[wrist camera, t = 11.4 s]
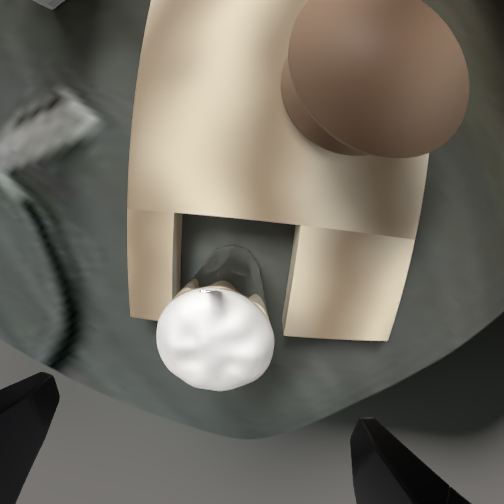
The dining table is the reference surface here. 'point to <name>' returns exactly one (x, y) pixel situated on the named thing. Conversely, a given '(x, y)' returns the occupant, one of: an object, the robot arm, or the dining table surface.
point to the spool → (374, 77)
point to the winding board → (259, 172)
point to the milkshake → (218, 324)
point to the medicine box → (49, 3)
